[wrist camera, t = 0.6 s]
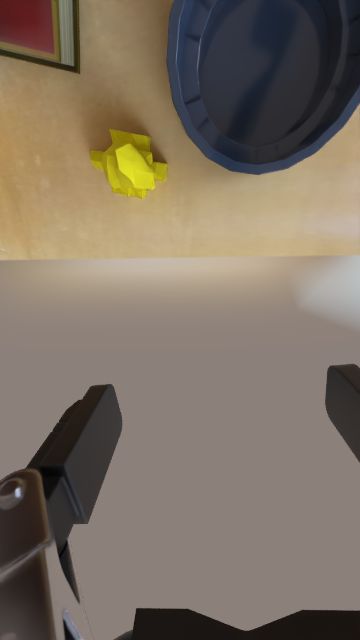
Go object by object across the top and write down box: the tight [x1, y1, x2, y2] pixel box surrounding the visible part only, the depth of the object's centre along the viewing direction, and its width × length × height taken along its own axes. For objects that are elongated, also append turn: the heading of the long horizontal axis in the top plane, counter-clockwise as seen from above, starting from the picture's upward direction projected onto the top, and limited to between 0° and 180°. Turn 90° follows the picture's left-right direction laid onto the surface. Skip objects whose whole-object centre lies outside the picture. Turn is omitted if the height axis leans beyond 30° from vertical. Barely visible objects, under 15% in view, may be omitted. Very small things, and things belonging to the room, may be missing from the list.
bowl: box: [166, 0, 360, 175], centre depth 21 cm, size 16×16×6 cm
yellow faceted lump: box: [90, 129, 168, 199], centre depth 26 cm, size 6×8×8 cm
